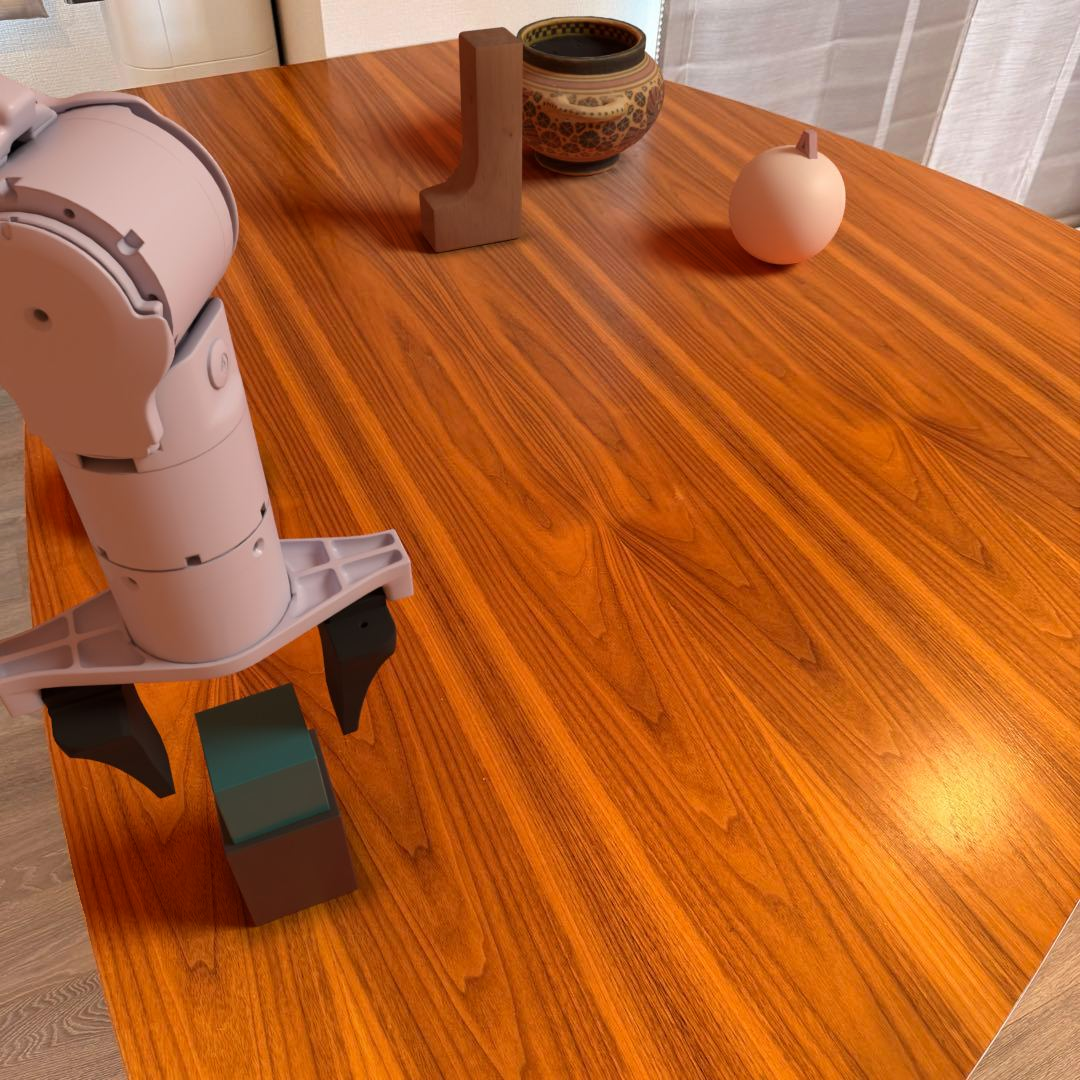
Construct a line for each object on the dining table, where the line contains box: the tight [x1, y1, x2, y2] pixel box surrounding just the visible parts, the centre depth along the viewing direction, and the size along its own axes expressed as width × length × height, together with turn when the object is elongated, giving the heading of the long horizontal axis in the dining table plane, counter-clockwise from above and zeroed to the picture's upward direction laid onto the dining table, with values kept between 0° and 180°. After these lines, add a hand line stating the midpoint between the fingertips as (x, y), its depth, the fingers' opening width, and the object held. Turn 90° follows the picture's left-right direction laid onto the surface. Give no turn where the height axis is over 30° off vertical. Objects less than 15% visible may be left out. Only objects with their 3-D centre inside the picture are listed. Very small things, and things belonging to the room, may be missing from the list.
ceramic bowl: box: [515, 15, 666, 176], centre depth 104 cm, size 24×18×15 cm
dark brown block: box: [212, 727, 359, 927], centre depth 46 cm, size 5×5×7 cm
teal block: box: [194, 682, 330, 844], centre depth 42 cm, size 4×4×4 cm
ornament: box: [728, 128, 847, 265], centre depth 89 cm, size 10×10×12 cm
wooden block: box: [418, 26, 523, 253], centre depth 89 cm, size 9×4×18 cm, turn 113°
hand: (256, 745), depth 41 cm, fingers open, 7 cm apart
